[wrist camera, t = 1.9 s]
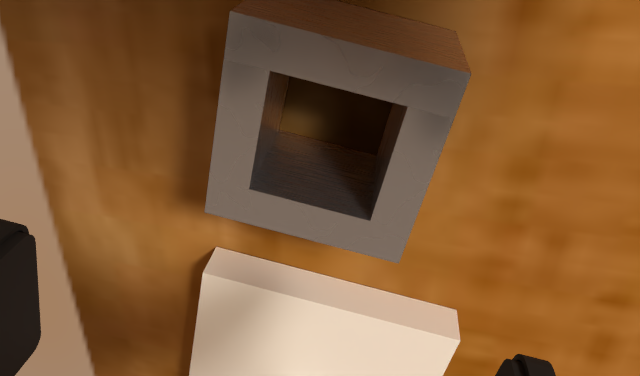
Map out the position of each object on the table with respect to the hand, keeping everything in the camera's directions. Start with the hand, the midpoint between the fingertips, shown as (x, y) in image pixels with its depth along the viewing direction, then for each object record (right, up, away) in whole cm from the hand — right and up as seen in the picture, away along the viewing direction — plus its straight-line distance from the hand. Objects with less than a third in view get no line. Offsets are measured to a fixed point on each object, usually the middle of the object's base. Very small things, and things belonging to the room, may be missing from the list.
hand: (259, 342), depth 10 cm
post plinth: (0, -7, +19) cm, 20 cm away
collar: (+2, +7, +11) cm, 13 cm away
